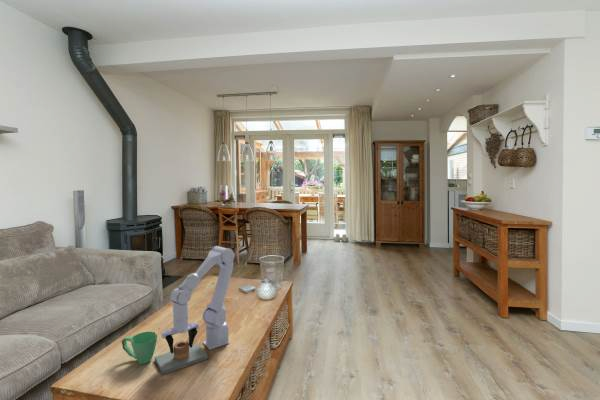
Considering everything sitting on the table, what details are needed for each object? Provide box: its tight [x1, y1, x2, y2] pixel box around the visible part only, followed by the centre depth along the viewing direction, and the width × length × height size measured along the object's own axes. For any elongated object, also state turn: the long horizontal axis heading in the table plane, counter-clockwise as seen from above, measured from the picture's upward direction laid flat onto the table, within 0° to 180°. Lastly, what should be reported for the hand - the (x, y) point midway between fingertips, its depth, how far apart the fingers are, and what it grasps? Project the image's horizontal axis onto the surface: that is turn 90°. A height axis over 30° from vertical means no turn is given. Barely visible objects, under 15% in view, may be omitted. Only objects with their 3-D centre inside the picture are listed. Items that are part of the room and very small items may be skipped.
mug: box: [121, 331, 158, 365], centre depth 133 cm, size 15×10×10 cm
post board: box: [154, 343, 209, 375], centre depth 134 cm, size 18×12×5 cm, turn 127°
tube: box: [173, 340, 189, 360], centre depth 134 cm, size 6×6×5 cm
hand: (181, 349), depth 134 cm, fingers open, 7 cm apart
